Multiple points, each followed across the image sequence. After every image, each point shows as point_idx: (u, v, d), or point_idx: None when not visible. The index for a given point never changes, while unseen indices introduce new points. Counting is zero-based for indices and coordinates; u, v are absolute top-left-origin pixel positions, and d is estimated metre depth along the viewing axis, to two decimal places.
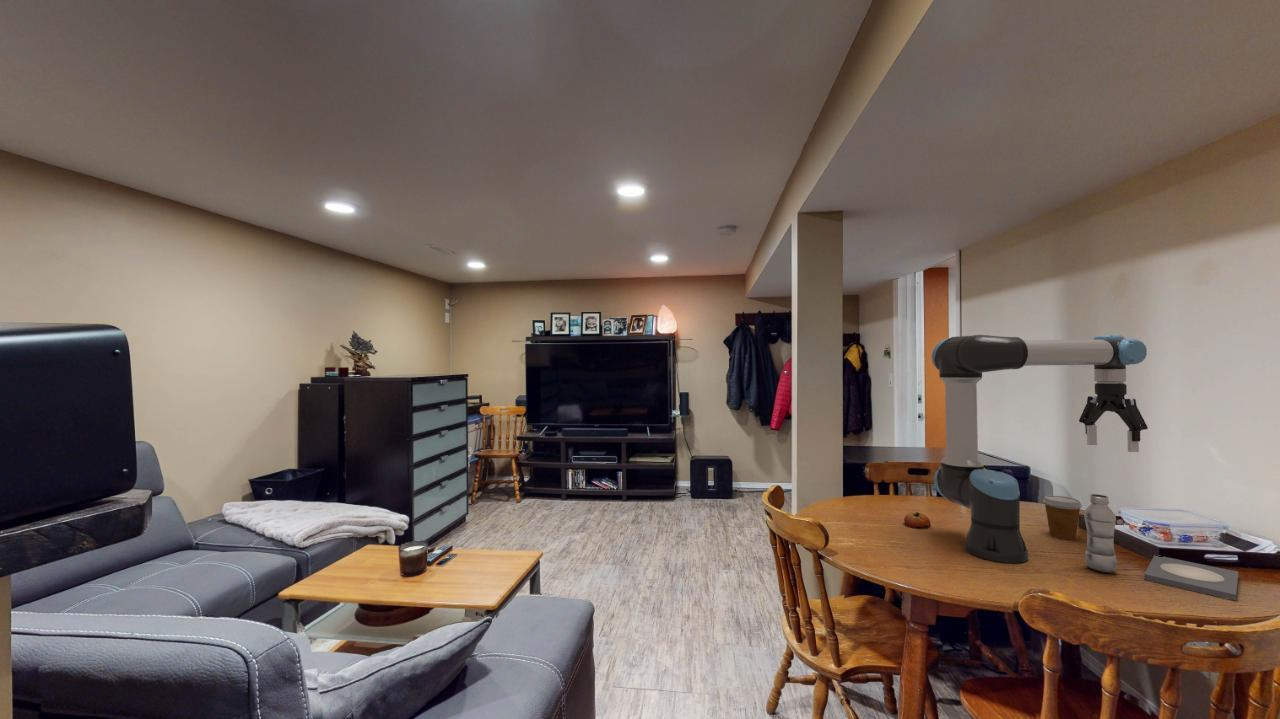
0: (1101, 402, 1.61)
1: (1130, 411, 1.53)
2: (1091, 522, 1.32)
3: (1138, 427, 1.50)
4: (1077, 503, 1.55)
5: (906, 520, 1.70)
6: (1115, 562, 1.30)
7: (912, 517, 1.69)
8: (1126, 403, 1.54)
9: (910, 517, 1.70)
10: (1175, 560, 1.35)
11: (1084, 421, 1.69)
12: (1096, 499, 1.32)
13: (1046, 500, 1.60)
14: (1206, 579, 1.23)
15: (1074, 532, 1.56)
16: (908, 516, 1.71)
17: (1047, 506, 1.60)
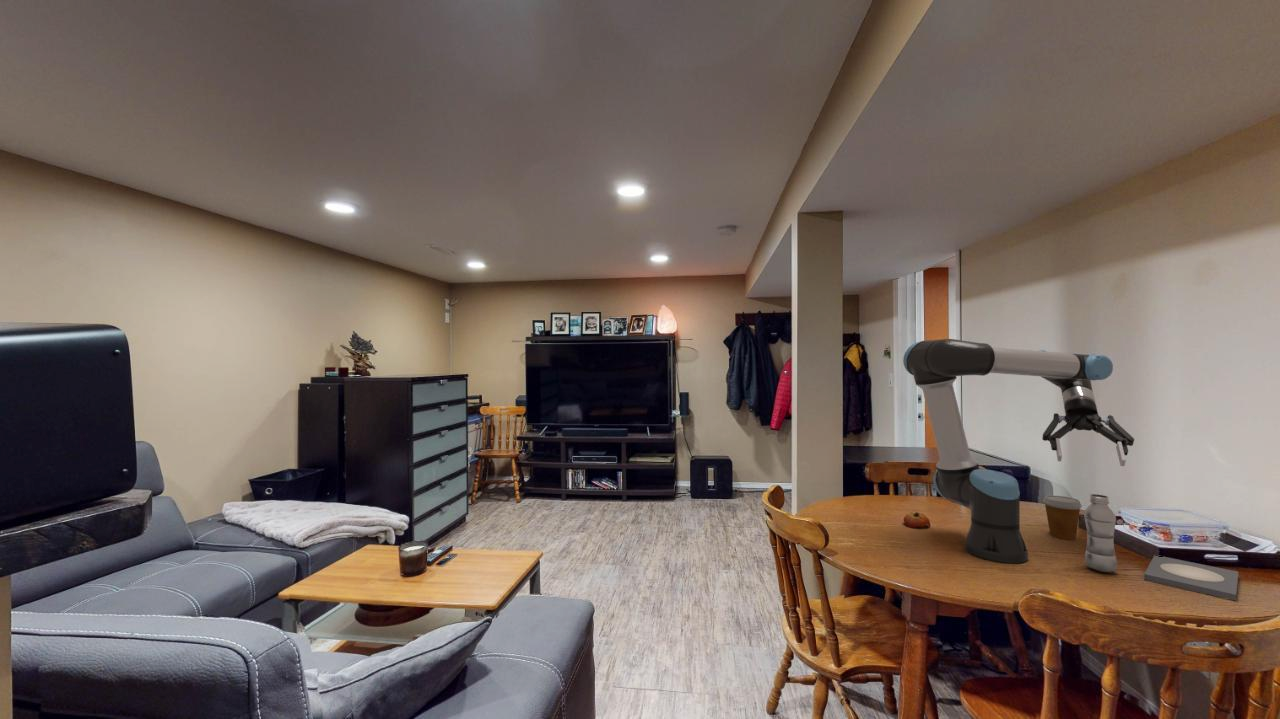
0: (1078, 416, 1.50)
1: (1117, 425, 1.44)
2: (1091, 522, 1.32)
3: (1132, 438, 1.40)
4: (1077, 503, 1.55)
5: (906, 520, 1.70)
6: (1115, 562, 1.30)
7: (912, 517, 1.69)
8: (1110, 419, 1.47)
9: (910, 517, 1.70)
10: (1175, 560, 1.35)
11: (1049, 436, 1.51)
12: (1096, 499, 1.32)
13: (1046, 500, 1.60)
14: (1206, 579, 1.23)
15: (1074, 532, 1.56)
16: (908, 516, 1.71)
17: (1047, 506, 1.60)
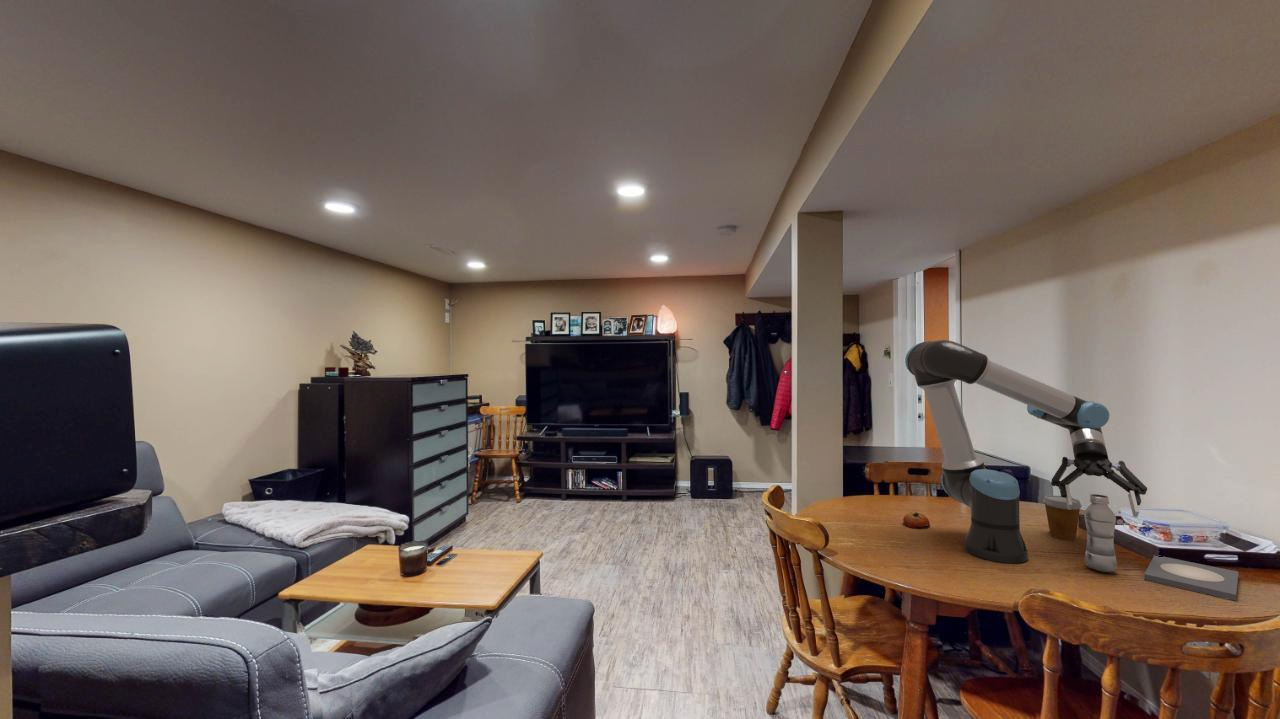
0: (1088, 461, 1.45)
1: (1129, 472, 1.39)
2: (1091, 522, 1.32)
3: (1145, 487, 1.35)
4: (1077, 503, 1.55)
5: (905, 520, 1.70)
6: (1115, 562, 1.30)
7: (911, 517, 1.69)
8: (1122, 465, 1.41)
9: (909, 517, 1.70)
10: (1175, 560, 1.35)
11: (1058, 481, 1.45)
12: (1096, 499, 1.32)
13: (1046, 500, 1.60)
14: (1206, 579, 1.23)
15: (1074, 532, 1.56)
16: (907, 516, 1.71)
17: (1047, 506, 1.60)
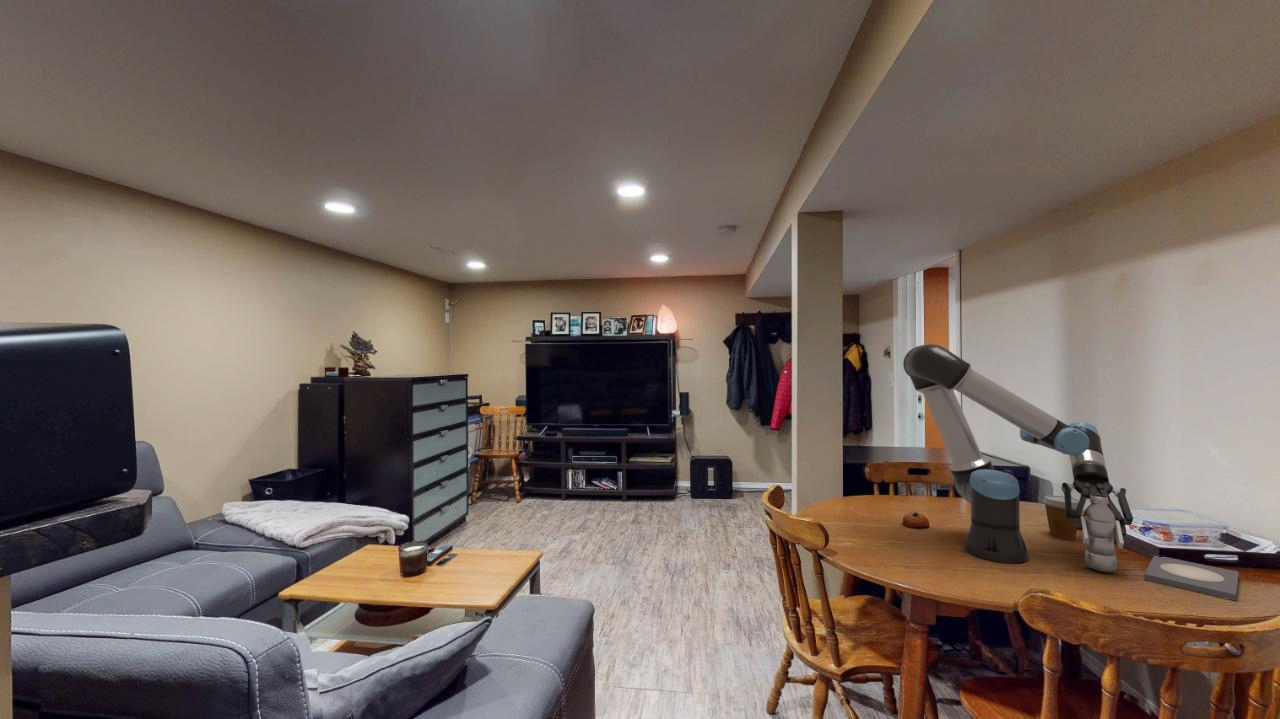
0: (1088, 484, 1.39)
1: (1124, 500, 1.33)
2: (1091, 522, 1.32)
3: (1131, 518, 1.30)
4: (1077, 503, 1.55)
5: (905, 520, 1.70)
6: (1115, 562, 1.30)
7: (911, 517, 1.69)
8: (1122, 492, 1.35)
9: (909, 517, 1.70)
10: (1175, 560, 1.35)
11: (1073, 512, 1.37)
12: (1096, 499, 1.32)
13: (1046, 500, 1.60)
14: (1206, 579, 1.23)
15: (1074, 532, 1.56)
16: (907, 516, 1.71)
17: (1047, 506, 1.60)
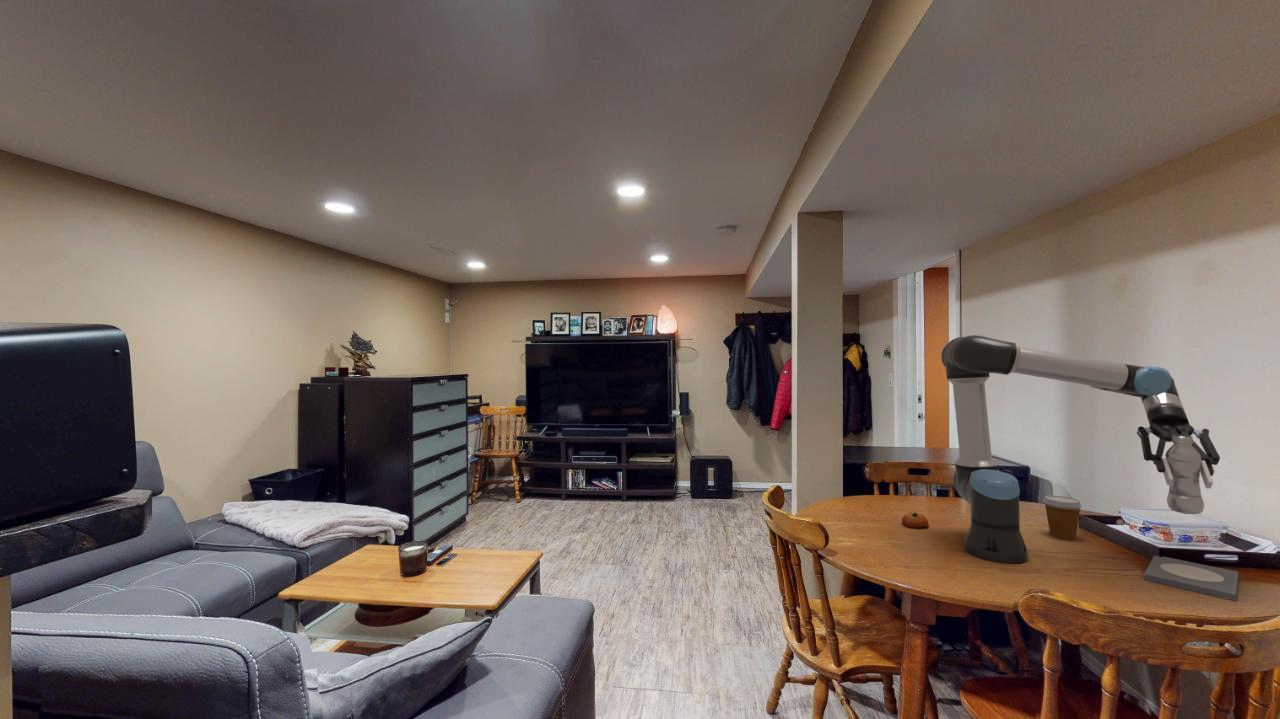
0: (1167, 426, 1.34)
1: (1208, 441, 1.28)
2: (1175, 463, 1.27)
3: (1217, 457, 1.25)
4: (1077, 503, 1.55)
5: (904, 520, 1.70)
6: (1202, 503, 1.25)
7: (910, 517, 1.69)
8: (1204, 432, 1.30)
9: (908, 517, 1.70)
10: (1175, 560, 1.35)
11: (1153, 455, 1.32)
12: (1179, 438, 1.27)
13: (1046, 500, 1.60)
14: (1206, 579, 1.23)
15: (1074, 532, 1.56)
16: (906, 516, 1.71)
17: (1047, 506, 1.60)
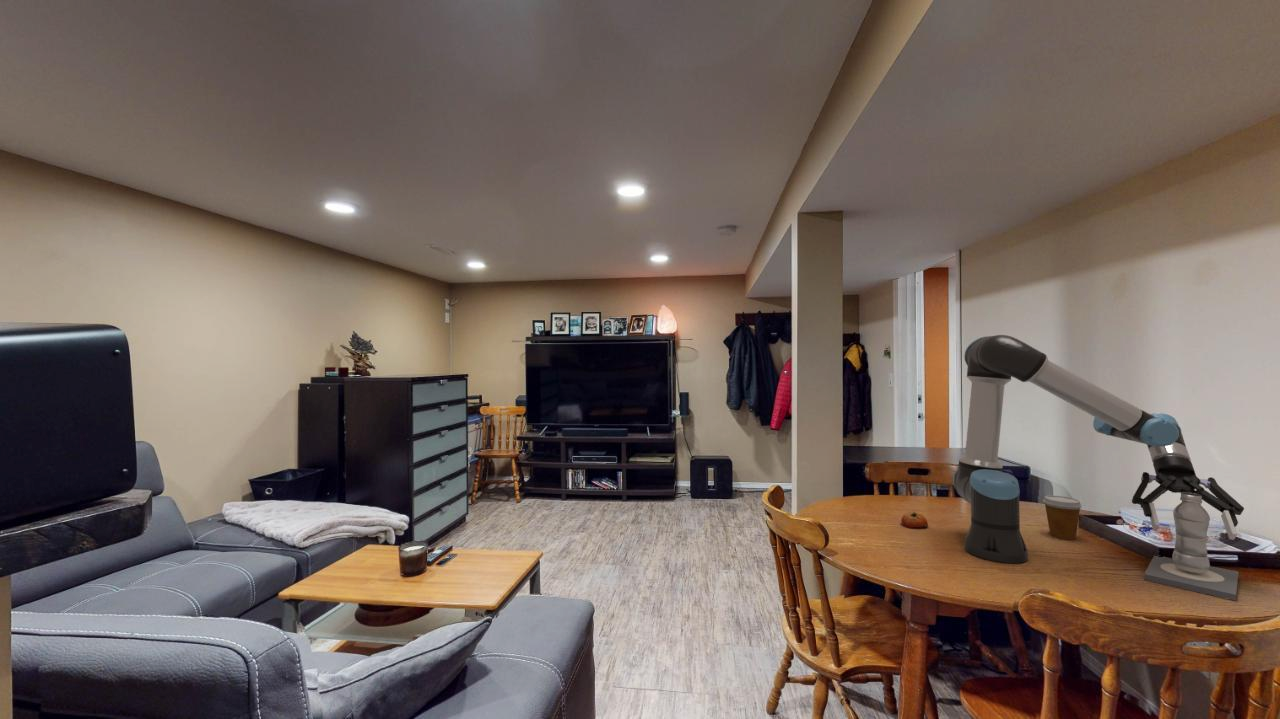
0: (1173, 477, 1.33)
1: (1221, 490, 1.28)
2: (1182, 522, 1.26)
3: (1241, 507, 1.24)
4: (1077, 503, 1.55)
5: (903, 520, 1.70)
6: (1208, 563, 1.24)
7: (909, 517, 1.69)
8: (1212, 482, 1.30)
9: (907, 517, 1.70)
10: None
11: (1140, 499, 1.34)
12: (1188, 497, 1.26)
13: (1046, 500, 1.60)
14: (1206, 579, 1.23)
15: (1074, 532, 1.56)
16: (905, 516, 1.71)
17: (1047, 506, 1.60)
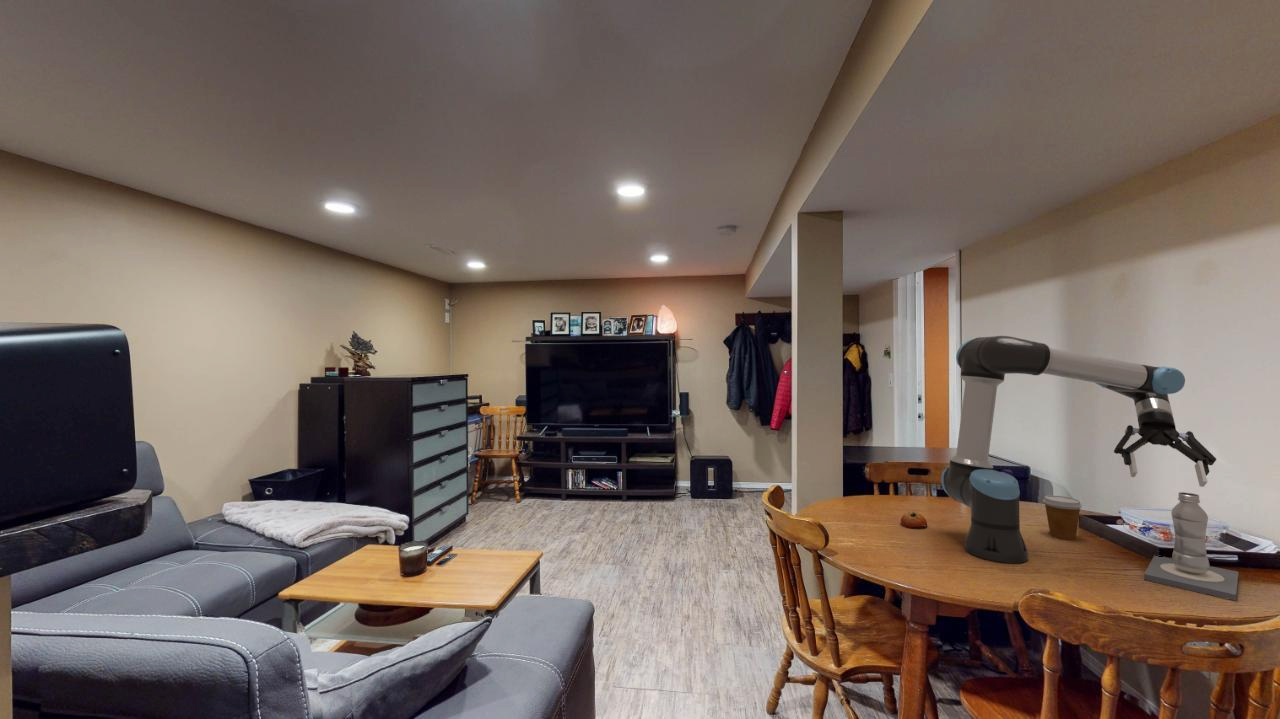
0: (1155, 430, 1.44)
1: (1198, 443, 1.39)
2: (1181, 522, 1.26)
3: (1214, 458, 1.35)
4: (1077, 503, 1.55)
5: (902, 520, 1.70)
6: (1207, 563, 1.24)
7: (908, 517, 1.69)
8: (1190, 435, 1.40)
9: (906, 517, 1.70)
10: None
11: (1122, 449, 1.45)
12: (1186, 497, 1.26)
13: (1046, 500, 1.60)
14: (1206, 579, 1.23)
15: (1074, 532, 1.56)
16: (905, 516, 1.71)
17: (1047, 506, 1.60)
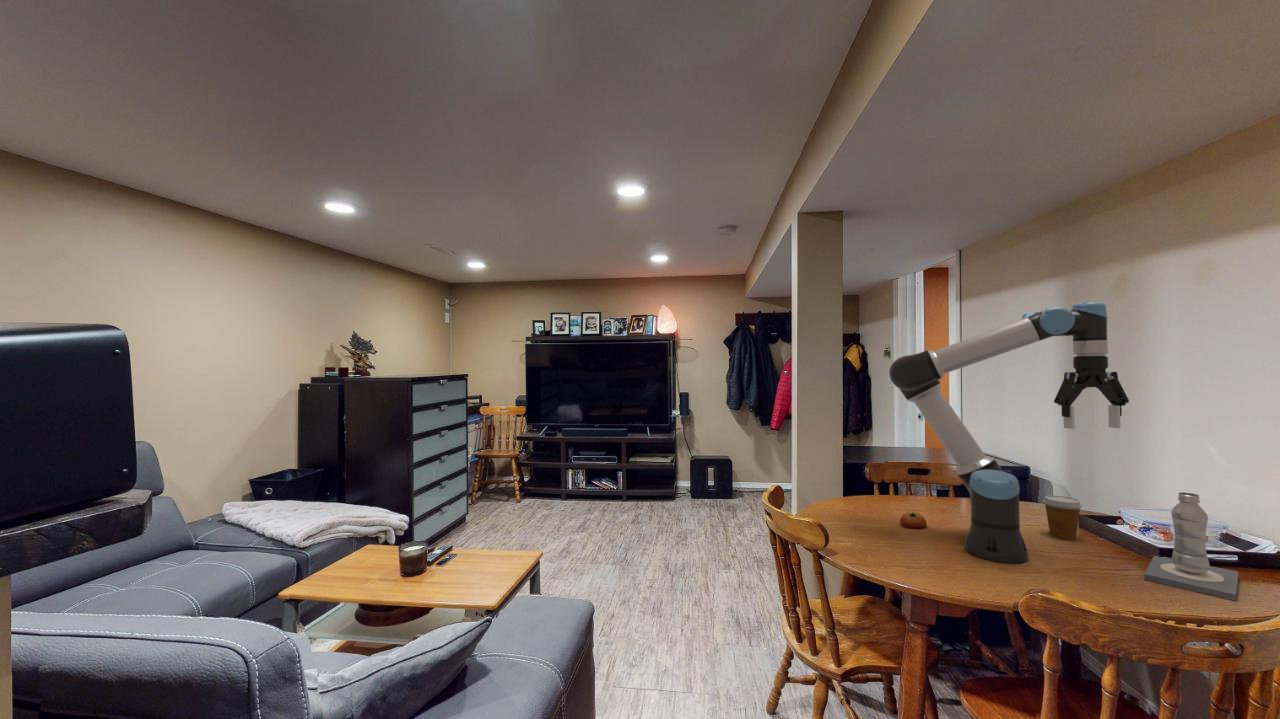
0: (1093, 377, 1.42)
1: (1119, 384, 1.43)
2: (1181, 522, 1.26)
3: (1127, 400, 1.43)
4: (1077, 503, 1.55)
5: (902, 520, 1.70)
6: (1207, 563, 1.24)
7: (908, 517, 1.69)
8: (1115, 376, 1.43)
9: (906, 517, 1.70)
10: None
11: None
12: (1186, 497, 1.26)
13: (1046, 500, 1.60)
14: (1206, 579, 1.23)
15: (1074, 532, 1.56)
16: (904, 516, 1.70)
17: (1047, 506, 1.60)
